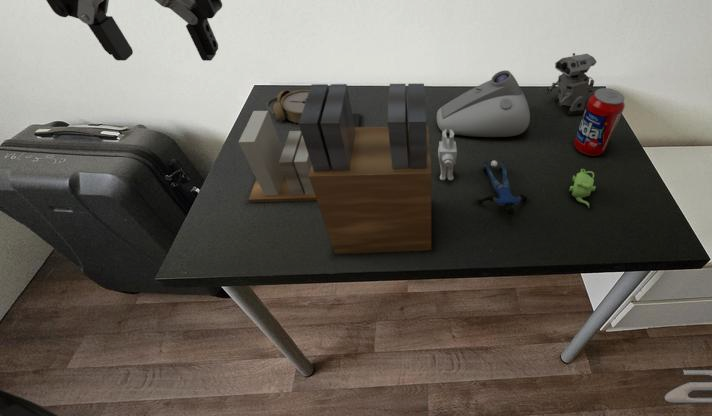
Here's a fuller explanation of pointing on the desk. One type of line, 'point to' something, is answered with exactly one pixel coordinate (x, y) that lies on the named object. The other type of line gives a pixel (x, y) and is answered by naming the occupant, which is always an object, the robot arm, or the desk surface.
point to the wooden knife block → (370, 171)
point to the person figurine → (502, 189)
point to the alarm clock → (289, 105)
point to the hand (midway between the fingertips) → (168, 57)
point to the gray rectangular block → (263, 152)
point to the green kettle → (582, 186)
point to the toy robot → (447, 155)
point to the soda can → (599, 121)
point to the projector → (487, 109)
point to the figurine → (574, 82)
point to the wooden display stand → (290, 174)
